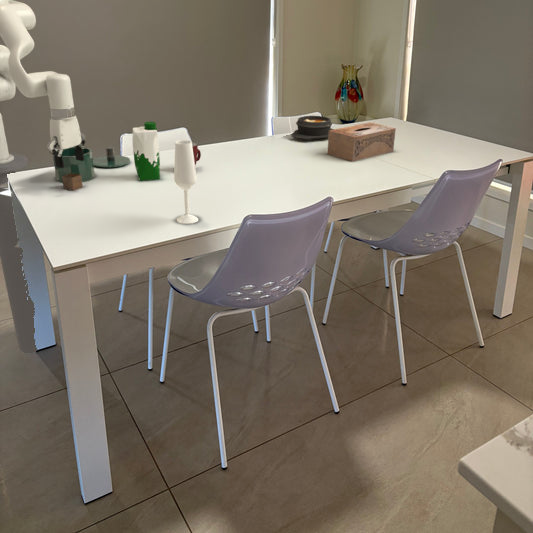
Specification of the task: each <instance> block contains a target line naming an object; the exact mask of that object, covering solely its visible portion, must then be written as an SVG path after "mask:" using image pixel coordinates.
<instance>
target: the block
mask: <svg viewBox="0 0 533 533" xmlns="http://www.w3.org/2000/svg"><path fill="white" fill-rule="evenodd" d="M62 179H63V182H62V185H63V189H64V190H68V191H72V192H73V191H76V190H80V189H82V188H83V182H82V178H81V175H80V174H74V173H70V174H67V175H64V176H62Z"/></svg>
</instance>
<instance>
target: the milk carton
mask: <svg viewBox="0 0 533 533" xmlns="http://www.w3.org/2000/svg"><path fill="white" fill-rule="evenodd" d="M143 123H144V124H143V125H144V126H138V127H132V149H133V162H134V167H135V170H136V174H137V177H138V179H139V181H140V182H145V181H156V180H160V178H161V177H160V173H161V161H160V160H161V158H160V147H159V146H160V145H159V136H158V135H159V134H158V129H157V122H155V121H146V122H145V121H144V122H143Z"/></svg>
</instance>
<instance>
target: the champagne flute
mask: <svg viewBox="0 0 533 533" xmlns="http://www.w3.org/2000/svg"><path fill="white" fill-rule="evenodd" d="M192 142H193V141H191V140H188V139H182V140H176V141H175V143H174V168H173V169H174V170H173V180H174V183H175V184H176V185H177V186H178V188H179V187H180V189H181V190H183V194H184V195H183V196H184V214H182V215H181V216H179V217H178V218H176V222H177V223H179V224H183V225H189V224H194V223H197V222H199V218H198V217H197V216H195V215H193V214H191V213H190V203H189V201H190V200H189V190H190V189H192V188H193V186H194V185H196V182H197V180H198V179H197V178H198V177H197V170H196V165H195V162H194V155H193V147H192Z"/></svg>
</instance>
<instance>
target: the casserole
mask: <svg viewBox="0 0 533 533" xmlns="http://www.w3.org/2000/svg"><path fill="white" fill-rule="evenodd" d="M295 124H296V126H297V129H295V130H294V131H293V132H292V133H291V134H290V136H291V137H293V138H295V139H296V138H297V139H303V140H322V139H327V138H328V136H329V130H334V129H335V128H331V127H332V126H333V122H332V120H331V118H329V117H326V116H322V115H304V116H300V117H298V119H297V121H296V122H295Z"/></svg>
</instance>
